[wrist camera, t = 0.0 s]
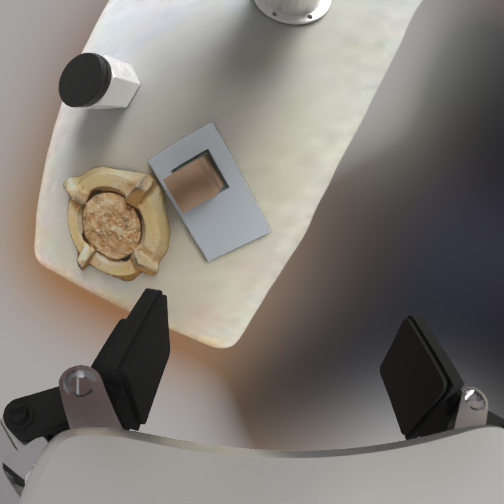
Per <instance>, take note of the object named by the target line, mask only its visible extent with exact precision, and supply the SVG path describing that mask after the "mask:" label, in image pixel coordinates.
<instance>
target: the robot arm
mask: <svg viewBox="0 0 504 504" xmlns="http://www.w3.org/2000/svg"><path fill="white" fill-rule="evenodd" d="M254 1H255V3H256V5H257V6H258V8H259V9H260V10H261V11H262V12H263V13H264V14H265V15H267V16H268V17H270V18H272V19H274V20H276V21H279V22H282V23H286V24H295V25H301V24H308V23H311V22H314V21H316V20H319V19H320V18H321V17H323V16H324V15H325V14H326V12H327V11H328V9H329V8H330V5H331V0H254ZM274 14H275V15H276V16H274ZM308 18H310V19H308ZM169 354H170V341H169V327H168V311H167V297H166V295H162V291H160V290H154V289H148V288H147V289H145V291H144V292H143V294H142V295H141V297H140V298H139V300H138V302H137V303H136V305H135V306H134V308H133V309H132V311H131V313H130V314H129V316H128V317H127V319H121V320H120V321H119V322H118V324H117V325H116V327H115V328H114V330H113V332H112V333H111V335H110V336H109V338H108V339H107V341H106V343H105V344H104V346H103V347H102V349H101V351H100V352H99V354H98V356H97V358H96V359H95V361H94V363H93V364H92V366H91V367H89V366H83V365H79V366H74V367H71V368H69V369H68V370H66V371H65V372H64V373H63V374H62V375H61V377H60V380H59V386H58V387H55V388H52V389H49V390H46V391H42V392H39V393H35V394H32V395H29V396H25V397H21V398H18V399H15V400H13V401H11V402H10V403H9V404H8V405H7V406H6V408H5V410H4V414H3V418H1V419H0V504H504V419H503V418H500V417H499V416H497V415H495V414H493V413H492V412H490V411H488V401H487V398H486V397H485V395H484V394H483V393H482V392H481V391H479V390H478V389H476V388H473V387H469V388H466V389H465V390H464V391H463V392H462V391H461V388H462V386H463V385H464V382H463V380H462V378H461V377H460V375H459V373H458V372H457V370H456V368H455V367H454V365H453V363H452V362H451V360H450V358H449V357H448V356H447V354H446V352H445V351H444V349H443V347H442V346H441V344H440V343H439V341H438V340H437V338H436V337H435V335H434V334H433V332H432V331H431V329H430V328H429V326H428V325H427V323H426V322H425V320H424V319H423V318H422V317H421V316H408V317H407V318H406V319H405V320H404V321H403V322H402V324H401V326H400V329H399V331H398V333H397V335H396V337H395V339H394V341H393V343H392V345H391V347H390V349H389V351H388V353H387V355H386V357H385V358H384V360H383V362H382V364H381V366H380V374H381V377H382V379H383V382H384V385H385V387H386V390H387V393H388V395H389V398H390V401H391V404H392V407H393V409H394V412H395V415H396V418H397V421H398V424H399V427H400V430H401V432H402V434H403V435H405V438H406V440H405V441H399V442H393V443H387V444H381V445H374V446H365V447H357V448H345V449H333V450H310V451H309V450H304V451H287V450H259V449H244V448H233V447H224V446H216V445H208V444H201V443H194V442H188V441H182V440H176V439H171V438H166V437H161V436H156V435H151V434H145V433H140V432H136V431H129V430H130V429H133V430H137V431H138V430H139V427H140V424H145V423H146V421H147V418H148V415H149V412H150V409H151V406H152V403H153V400H154V397H155V394H156V392H157V388H158V386H159V383H160V380H161V377H162V375H163V372H164V369H165V366H166V363H167V361H168V358H169ZM419 436H420V437H419ZM418 437H419V438H418ZM34 464H35V465H34ZM31 469H32V470H31ZM30 470H31V473H30V475H29V477H28V479H27V482H26V484H25V476H26V474H27V473H28V472H29V471H30Z"/></svg>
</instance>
